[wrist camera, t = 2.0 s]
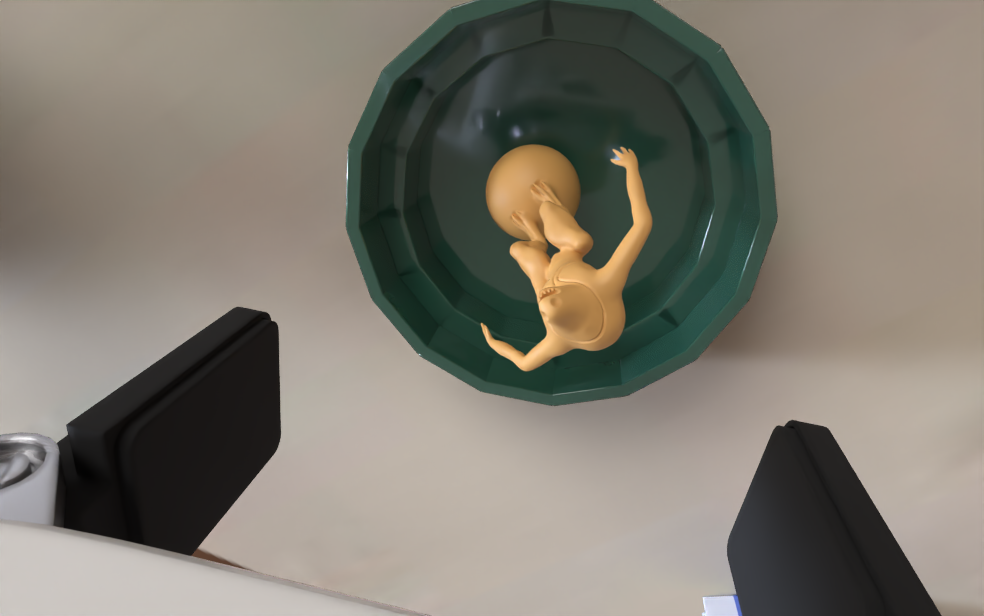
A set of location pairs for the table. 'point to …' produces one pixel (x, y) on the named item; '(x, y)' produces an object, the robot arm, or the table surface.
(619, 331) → the figurine
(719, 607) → the walkman
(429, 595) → the table surface
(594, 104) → the bowl
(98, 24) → the table surface
